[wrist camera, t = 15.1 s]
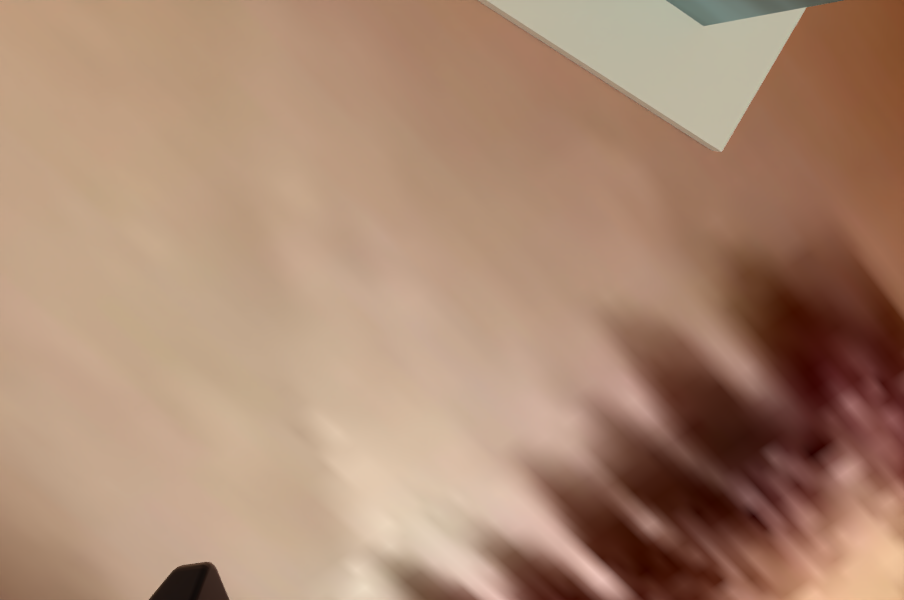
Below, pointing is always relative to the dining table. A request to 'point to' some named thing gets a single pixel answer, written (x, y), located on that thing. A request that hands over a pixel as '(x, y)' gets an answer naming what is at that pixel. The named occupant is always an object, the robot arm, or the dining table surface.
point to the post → (738, 8)
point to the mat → (663, 55)
